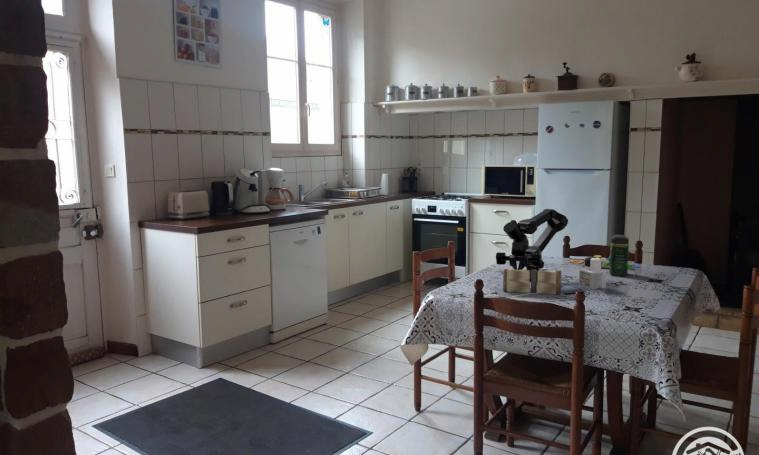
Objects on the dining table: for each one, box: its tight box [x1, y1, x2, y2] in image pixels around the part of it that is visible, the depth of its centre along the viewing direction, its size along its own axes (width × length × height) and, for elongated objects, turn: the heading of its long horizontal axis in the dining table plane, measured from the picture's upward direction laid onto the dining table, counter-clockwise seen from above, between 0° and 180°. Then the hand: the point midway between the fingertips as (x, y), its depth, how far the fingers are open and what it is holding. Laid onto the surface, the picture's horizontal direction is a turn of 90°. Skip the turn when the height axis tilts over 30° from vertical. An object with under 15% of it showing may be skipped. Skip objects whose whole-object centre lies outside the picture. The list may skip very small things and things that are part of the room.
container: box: [578, 256, 607, 290], centre depth 246 cm, size 8×8×13 cm
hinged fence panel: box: [502, 268, 538, 293], centre depth 238 cm, size 13×2×9 cm, turn 72°
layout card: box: [493, 287, 567, 298], centre depth 239 cm, size 15×26×1 cm, turn 92°
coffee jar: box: [609, 234, 630, 277], centre depth 270 cm, size 10×8×19 cm
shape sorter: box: [568, 254, 641, 271], centre depth 293 cm, size 34×19×5 cm, turn 59°
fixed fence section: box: [537, 269, 563, 294], centre depth 234 cm, size 9×2×10 cm, turn 72°
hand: (517, 275), depth 242 cm, fingers closed
